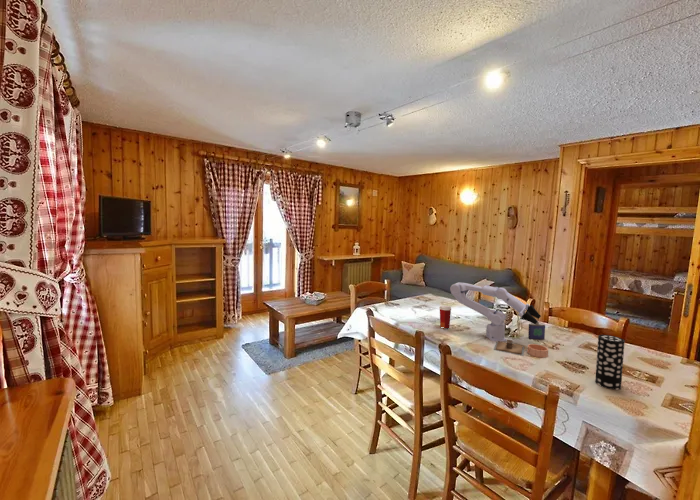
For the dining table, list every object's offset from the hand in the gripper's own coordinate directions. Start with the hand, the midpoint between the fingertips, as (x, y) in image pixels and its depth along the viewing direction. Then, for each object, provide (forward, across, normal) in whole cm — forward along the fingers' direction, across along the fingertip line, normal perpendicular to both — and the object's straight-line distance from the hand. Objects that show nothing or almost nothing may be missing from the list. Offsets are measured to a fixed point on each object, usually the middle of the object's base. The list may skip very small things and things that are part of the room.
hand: (538, 320), depth 166 cm
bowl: (+10, -14, +10) cm, 19 cm away
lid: (-2, -16, +16) cm, 23 cm away
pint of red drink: (-35, -8, +40) cm, 54 cm away
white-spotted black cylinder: (+32, -28, -8) cm, 43 cm away
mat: (-2, -16, +16) cm, 23 cm away
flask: (+7, +11, +16) cm, 21 cm away
